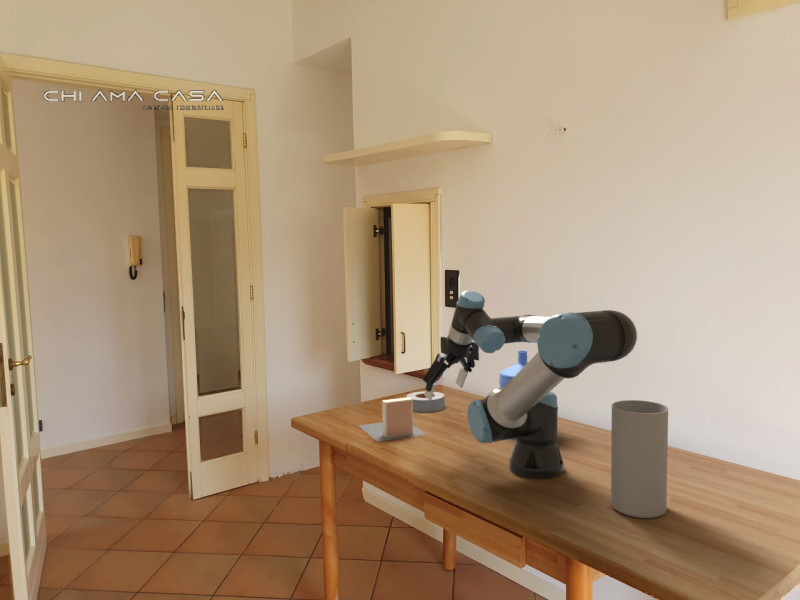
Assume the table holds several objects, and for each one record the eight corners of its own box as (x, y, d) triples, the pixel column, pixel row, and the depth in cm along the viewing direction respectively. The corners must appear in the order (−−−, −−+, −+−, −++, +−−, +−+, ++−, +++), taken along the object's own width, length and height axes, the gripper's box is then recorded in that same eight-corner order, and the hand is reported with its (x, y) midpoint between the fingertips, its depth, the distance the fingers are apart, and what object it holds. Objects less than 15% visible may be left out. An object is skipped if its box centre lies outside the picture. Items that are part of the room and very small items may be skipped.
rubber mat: (427, 435, 207) (427, 434, 207) (377, 442, 201) (377, 441, 201) (404, 420, 226) (404, 419, 226) (358, 426, 219) (358, 425, 219)
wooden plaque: (413, 433, 208) (412, 399, 207) (386, 437, 204) (385, 402, 203) (409, 431, 211) (409, 397, 210) (382, 435, 207) (381, 400, 206)
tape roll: (398, 407, 245) (398, 395, 245) (426, 400, 255) (426, 389, 255) (424, 415, 234) (424, 402, 233) (452, 407, 243) (452, 395, 243)
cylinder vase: (637, 523, 139) (639, 416, 137) (599, 503, 150) (600, 403, 148) (678, 513, 144) (680, 409, 142) (638, 494, 155) (639, 397, 153)
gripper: (480, 322, 193) (463, 373, 204) (420, 341, 178) (406, 395, 189) (497, 335, 188) (479, 387, 199) (437, 355, 173) (421, 410, 184)
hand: (443, 391), depth 194 cm, fingers open, 13 cm apart
